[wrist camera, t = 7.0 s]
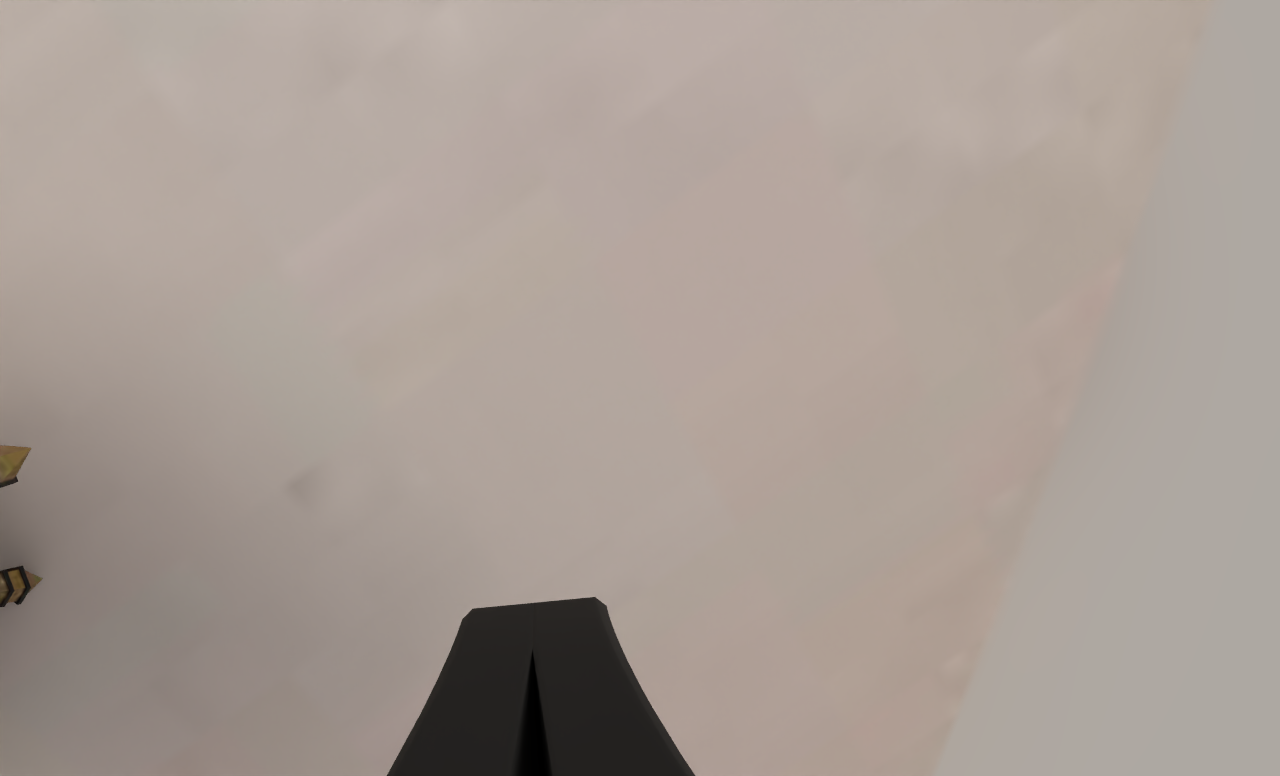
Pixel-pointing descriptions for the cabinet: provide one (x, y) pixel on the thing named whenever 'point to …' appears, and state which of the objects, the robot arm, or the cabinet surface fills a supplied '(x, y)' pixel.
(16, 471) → the game die
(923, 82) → the cabinet surface
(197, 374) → the cabinet surface
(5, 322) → the cabinet surface
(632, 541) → the cabinet surface
